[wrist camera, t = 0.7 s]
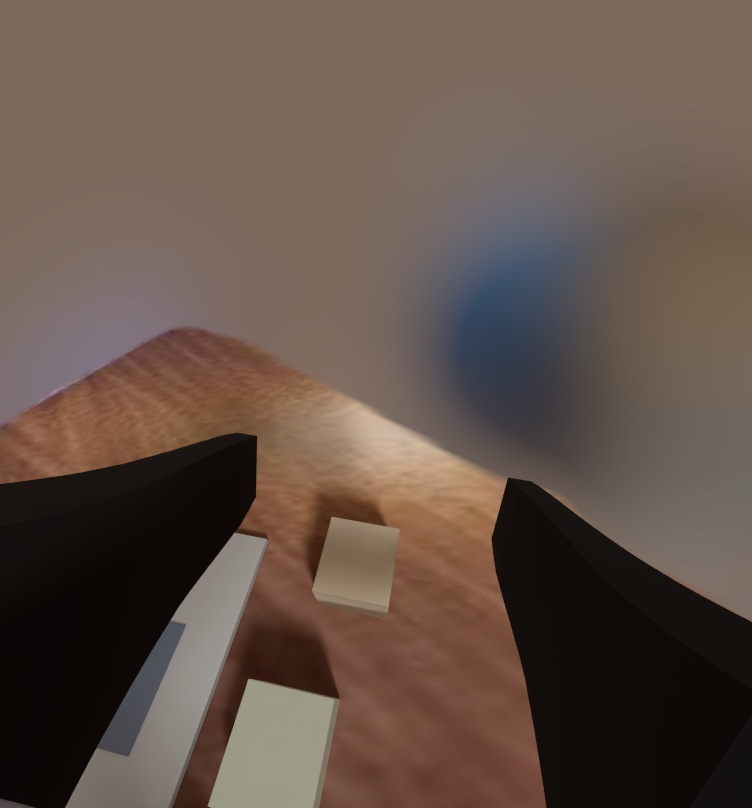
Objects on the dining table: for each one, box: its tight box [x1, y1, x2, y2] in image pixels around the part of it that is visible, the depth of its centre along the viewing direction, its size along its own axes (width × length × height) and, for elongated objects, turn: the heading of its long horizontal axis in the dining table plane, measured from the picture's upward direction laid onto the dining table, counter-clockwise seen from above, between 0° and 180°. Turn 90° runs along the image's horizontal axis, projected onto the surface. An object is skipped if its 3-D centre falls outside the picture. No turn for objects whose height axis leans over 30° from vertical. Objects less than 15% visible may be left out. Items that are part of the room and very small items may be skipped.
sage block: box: [208, 679, 340, 808], centre depth 19 cm, size 4×4×4 cm
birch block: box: [312, 517, 400, 618], centre depth 24 cm, size 4×4×4 cm
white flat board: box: [65, 533, 268, 808], centre depth 21 cm, size 18×12×1 cm, turn 170°
